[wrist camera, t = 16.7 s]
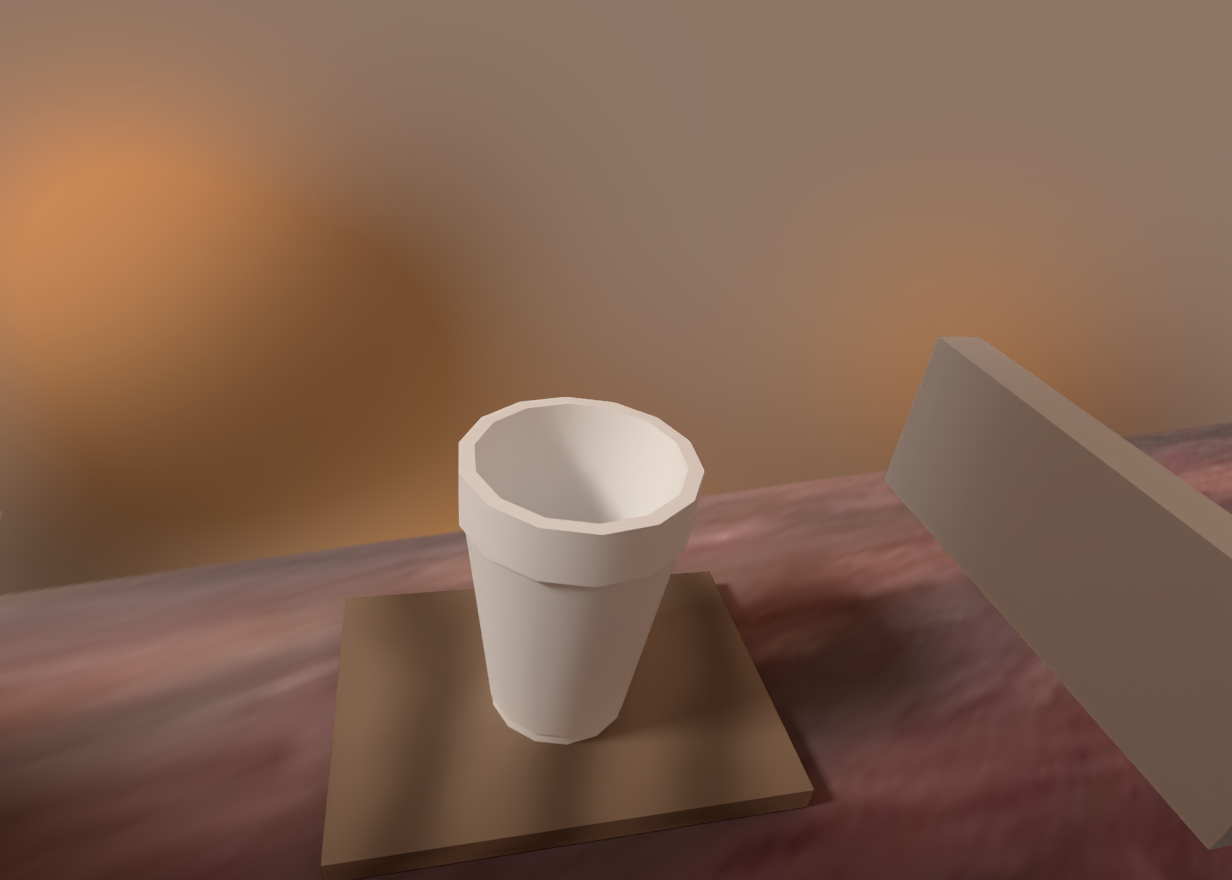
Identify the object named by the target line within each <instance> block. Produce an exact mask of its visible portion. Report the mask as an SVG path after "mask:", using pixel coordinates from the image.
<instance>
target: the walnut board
mask: <svg viewBox="0 0 1232 880" xmlns="http://www.w3.org/2000/svg"><path fill="white" fill-rule="evenodd" d="M813 792H814V788H813V786H812V784H811V782H810V780H809V778H808V776H807V773H806V771H805V769H804V767H803V765H802V763H801V761H800V759H799V757H798V755H797V753H796V751H795V748H794V746H793V744H792V742H791V740H790V738H789V736H788V734H787V732H786V730H785V728H784V726H783V723H782V721H781V719H780V717H779V715H778V713H777V711H776V709H775V707H774V705H773V703H772V701H771V698H770V696H769V694H768V692H767V690H766V688H765V686H764V684H763V682H762V680H761V678H760V675H759V673H758V671H757V669H756V667H755V665H754V663H753V661H752V659H751V657H750V655H749V653H748V650H747V648H746V646H745V644H744V642H743V640H742V638H741V636H740V634H739V632H738V630H737V628H736V625H735V623H734V621H733V619H732V617H731V615H730V613H729V611H728V609H727V607H726V605H725V603H724V600H723V598H722V596H721V594H720V592H719V590H718V588H717V586H716V584H715V582H714V580H713V577H712V575H711V573H710V572H696V573H683V574H671V575H670V577H669V580H668V583H667V586H666V588H665V591H664V594H663V596H662V599H661V602H660V604H659V607H658V610H657V613H656V615H655V618H654V621H653V623H652V626H651V629H650V632H649V634H648V637H647V640H646V642H645V645H644V648H643V651H642V653H641V656H640V659H639V661H638V664H637V667H636V669H635V672H634V675H633V678H632V680H631V683H630V686H629V688H628V691H627V694H626V697H625V699H624V702H623V705H622V707H621V709H620V711H619V714H618V717H617V718H616V719H615V720H614V721H613V722H612V723H611V724H609V725H608V726H607V727H606V728H605V729H604V730H603V731H602V732H601V733H599V734H598V735H597V736H595V737H591V738H588V739H584V740H581V741H578V742H574V743H571V744H568V745H566V744H556V743H547V742H538V741H534V740H532V739H530V738H528V737H526V736H525V735H523V734H521V733H519V732H517V731H516V730H514V729H512V728H510V727H508V725H507V724H506V722H505V721H504V719H503V718H502V717H501V715H500V714H499V712H498V711H497V709H496V708H495V706H494V705H493V697H492V696H491V691H490V684H489V678H488V672H487V665H486V659H485V653H484V646H483V640H482V633H481V627H480V621H479V614H478V608H477V602H476V595H475V589H467V590H453V591H440V592H426V593H413V594H399V595H386V596H372V597H359V598H346V600H345V611H344V621H343V632H342V643H341V653H340V664H339V675H338V685H337V696H336V707H335V717H334V728H333V739H332V749H331V760H330V771H329V781H328V792H327V803H326V813H325V824H324V835H323V845H322V856H321V872H322V878H323V880H352V879H358V878H364V877H371V876H377V875H383V874H389V873H396V872H402V871H408V870H414V869H421V868H427V867H433V866H439V865H446V864H452V863H458V862H465V861H471V860H477V859H483V858H490V857H496V856H502V855H508V854H515V853H521V852H527V851H533V850H540V849H546V848H552V847H558V846H565V845H571V844H577V843H583V842H590V841H596V840H602V839H608V838H615V837H621V836H627V835H633V834H640V833H646V832H652V831H658V830H665V829H671V828H677V827H683V826H690V825H696V824H702V823H708V822H715V821H721V820H727V819H733V818H740V817H746V816H752V815H758V814H765V813H771V812H777V811H783V810H790V809H796V808H802V807H808V805H809V802H810V800H811V797H812V795H813Z"/></svg>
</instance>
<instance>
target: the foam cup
mask: <svg viewBox="0 0 1232 880" xmlns="http://www.w3.org/2000/svg"><path fill="white" fill-rule="evenodd" d="M703 476H704V469H703V467H702V465H701V463H700V461H699V459H698V457H697V455H696V452H695V451H694V448H693V447H692V445H691V442H690V441H689V440H687V439H686V438H685V437H683V436H682V435H681V434H679V433H678V432H676V431H675V430H674V429H672V428H671V427H670V426H668V425H667V424H665V423H664V422H663V421H662V420H660V419H659V418H657V417H654V416H651V415H648V414H646V413H643V412H640V411H637V410H634V409H631V408H629V407H626V406H623V405H620V404H617V403H615V402H606V401H597V400H589V399H579V398H572V397H561V398H552V399H542V400H533V401H523V402H518V403H516V404H513V405H511V406H508V407H506V408H503V409H501V410H498V411H496V412H494V413H491V414H489V415H486V416H484V417H481V418H480V420H479V421H478V422H477V423H476V424H475V425H474V426H473V427H472V428H471V430H470V431H469V432H468V433H467V434H466V435H465V436H464V437H463V438H462V440H461V441H460V442H459V526H460V527H461V528H462V529H463V530H464V532H465V533H466V538H467V544H468V550H469V557H470V563H471V570H472V576H473V582H474V589H475V595H476V602H477V608H478V614H479V621H480V627H481V633H482V640H483V646H484V653H485V659H486V665H487V672H488V678H489V684H490V691H491V696H492V697H493V705H494V706H495V708H496V709H497V711H498V712H499V714H500V715H501V717H502V718H503V719H504V721H505V722H506V724H507V725H508V727H510V728H512V729H514V730H516V731H517V732H519V733H521V734H523V735H525V736H526V737H528V738H530V739H532V740H534V741H538V742H547V743H556V744H566V745H568V744H571V743H574V742H578V741H581V740H584V739H588V738H591V737H595V736H597V735H598V734H599V733H601V732H602V731H603V730H604V729H605V728H606V727H607V726H608V725H609V724H611V723H612V722H613V721H614V720H615V719H616V718H617V717H618V714H619V711H620V709H621V707H622V705H623V702H624V699H625V697H626V694H627V691H628V688H629V686H630V683H631V680H632V678H633V675H634V672H635V669H636V667H637V664H638V661H639V659H640V656H641V653H642V651H643V648H644V645H645V642H646V640H647V637H648V634H649V632H650V629H651V626H652V623H653V621H654V618H655V615H656V613H657V610H658V607H659V604H660V602H661V599H662V596H663V594H664V591H665V588H666V586H667V583H668V580H669V577H670V575H671V572H672V569H673V567H674V564H675V561H676V558H677V556H678V555H680V554H681V553H682V552H684V551H685V549H686V545H687V542H688V539H689V536H690V532H691V529H692V526H693V523H694V519H695V515H696V510H697V505H698V500H699V495H700V490H701V485H702V481H703Z"/></svg>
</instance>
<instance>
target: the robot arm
mask: <svg viewBox="0 0 1232 880" xmlns="http://www.w3.org/2000/svg"><path fill="white" fill-rule="evenodd" d="M884 481H885V482H886V483H887V484H888V486H889V487H890V488H891V489H892V490H893V491H894V492H895V493H896V495H897V496H898V497H899V498H900V499H901V500H902V501H903V503H904V504H905V505H906V506H907V507H908V508H909V509H910V511H911V512H912V513H913V514H914V515H915V516H916V517H917V519H918V520H919V521H920V522H921V523H922V524H923V525H924V527H925V528H926V529H927V530H928V531H929V532H930V533H931V534H932V536H933V537H934V538H935V539H936V540H937V541H938V542H939V544H940V545H941V546H942V547H943V548H944V549H945V550H946V552H947V553H948V554H949V555H950V556H951V557H952V558H953V560H954V561H955V562H956V563H957V564H958V565H959V566H960V568H961V569H962V570H963V571H964V572H965V573H966V574H967V575H968V577H969V578H970V579H971V580H972V581H973V582H974V583H975V585H976V586H977V587H978V588H979V589H980V590H981V591H982V593H983V594H984V595H985V596H986V597H987V598H988V599H989V601H990V602H991V603H992V604H993V605H994V606H995V607H996V609H997V610H998V611H999V612H1000V613H1001V614H1002V615H1003V616H1004V618H1005V619H1006V620H1007V621H1008V622H1009V623H1010V624H1011V626H1012V627H1013V628H1014V629H1015V630H1016V631H1017V632H1018V634H1019V635H1020V636H1021V637H1022V638H1023V639H1024V640H1025V642H1026V643H1027V644H1028V645H1029V646H1030V647H1031V648H1032V650H1033V651H1034V652H1035V653H1036V654H1037V655H1038V656H1039V657H1040V659H1041V660H1042V661H1043V662H1044V663H1045V664H1046V665H1047V667H1048V668H1049V669H1050V670H1051V671H1052V672H1053V673H1054V675H1055V676H1056V677H1057V678H1058V679H1059V680H1060V681H1061V683H1062V684H1063V685H1064V686H1065V687H1066V688H1067V689H1068V691H1069V692H1070V693H1071V694H1072V695H1073V696H1074V697H1075V698H1076V700H1077V701H1078V702H1079V703H1080V704H1081V705H1082V706H1083V708H1084V709H1085V710H1086V711H1087V712H1088V713H1089V714H1090V716H1091V717H1092V718H1093V719H1094V720H1095V721H1096V722H1097V724H1098V725H1099V726H1100V727H1101V728H1102V729H1103V730H1104V732H1105V733H1106V734H1107V735H1108V736H1109V737H1110V738H1111V739H1112V741H1113V742H1114V743H1115V744H1116V745H1117V746H1118V747H1119V749H1120V750H1121V751H1122V752H1123V753H1124V754H1125V755H1126V757H1127V758H1128V759H1129V760H1130V761H1131V762H1132V763H1133V765H1134V766H1135V767H1136V768H1137V769H1138V770H1139V771H1140V773H1141V774H1142V775H1143V776H1144V777H1145V778H1146V779H1147V780H1148V782H1149V783H1150V784H1151V785H1152V786H1153V787H1154V788H1155V790H1156V791H1157V792H1158V793H1159V794H1160V795H1161V796H1162V798H1163V799H1164V800H1165V801H1166V802H1167V803H1168V804H1169V806H1170V807H1171V808H1172V809H1173V810H1174V811H1175V812H1176V814H1177V815H1178V816H1179V817H1180V818H1181V819H1182V820H1183V821H1184V823H1185V824H1186V825H1187V826H1188V827H1189V828H1190V829H1191V831H1192V832H1193V833H1194V834H1195V835H1196V836H1197V837H1198V839H1199V840H1200V841H1201V842H1202V843H1203V844H1204V845H1205V847H1206V848H1207V849H1208V850H1212V849H1217V848H1221V847H1226V846H1231V845H1232V515H1231V514H1230V513H1228V512H1227V511H1226V510H1224V509H1223V508H1221V507H1220V506H1218V505H1217V504H1216V503H1214V502H1213V501H1211V500H1210V499H1208V498H1207V497H1206V496H1204V495H1203V494H1201V493H1200V492H1199V491H1197V490H1196V489H1194V488H1193V487H1191V486H1190V485H1189V484H1187V483H1186V482H1184V481H1183V480H1182V479H1180V478H1179V477H1177V476H1176V475H1174V474H1173V473H1172V472H1170V471H1169V470H1167V469H1166V468H1165V467H1163V466H1162V465H1160V464H1159V463H1157V462H1156V461H1155V460H1153V459H1152V458H1150V457H1149V456H1148V455H1146V454H1145V453H1143V452H1142V451H1140V450H1139V449H1138V448H1136V447H1135V446H1133V445H1132V444H1131V443H1129V442H1128V441H1126V440H1125V439H1123V438H1122V437H1121V436H1119V435H1118V434H1116V433H1115V432H1114V431H1112V430H1111V429H1109V428H1108V427H1106V426H1105V425H1103V424H1102V423H1101V422H1099V421H1098V420H1096V419H1095V418H1094V417H1092V416H1091V415H1089V414H1088V413H1087V412H1085V411H1084V410H1082V409H1081V408H1079V407H1078V406H1077V405H1075V404H1073V403H1072V402H1071V401H1070V400H1068V399H1067V398H1065V397H1064V396H1062V395H1061V394H1060V393H1058V392H1057V391H1055V390H1054V389H1053V388H1051V387H1050V386H1048V385H1047V384H1045V383H1044V382H1042V381H1041V380H1040V379H1038V378H1037V377H1036V376H1034V375H1032V374H1031V373H1030V372H1028V371H1027V370H1026V369H1024V368H1023V367H1021V366H1020V365H1019V364H1017V363H1015V362H1014V361H1013V360H1011V359H1010V358H1008V357H1007V356H1006V355H1004V354H1003V353H1001V352H1000V351H999V350H997V349H996V348H994V347H993V346H992V345H990V344H989V343H987V342H986V341H984V340H983V339H982V338H980V337H938V339H937V342H936V345H935V347H934V350H933V353H932V355H931V358H930V360H929V363H928V366H927V368H926V371H925V374H924V376H923V379H922V381H921V384H920V387H919V389H918V392H917V395H916V397H915V400H914V402H913V405H912V408H911V411H910V413H909V416H908V418H907V421H906V424H905V426H904V429H903V432H902V435H901V437H900V439H899V442H898V444H897V447H896V450H895V452H894V455H893V458H892V460H891V463H890V466H889V468H888V471H887V473H886V476H885V479H884ZM1 517H2V512H1V510H0V518H1Z"/></svg>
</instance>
